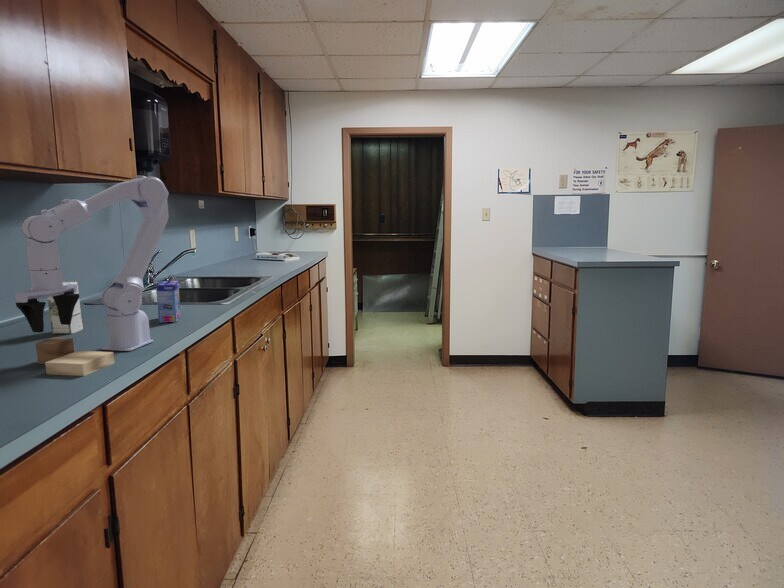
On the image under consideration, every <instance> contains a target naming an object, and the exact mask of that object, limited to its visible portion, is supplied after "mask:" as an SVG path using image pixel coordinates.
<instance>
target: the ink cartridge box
mask: <svg viewBox="0 0 784 588" xmlns="http://www.w3.org/2000/svg"><path fill="white" fill-rule="evenodd" d="M173 276H174V274H171V276H170V277H169V279H168V280H164V281H163V280H162V281H160V282H159V283H158V284H157V285H156V299H157V301H156V302H157V316H158V318H157V319H158V324H159V323H161V324H164V323H165V322H175V323H177V322H178V320H179V319H180V318H181V306H180V304H181V303H180V285H179V283H180V282H179V280H172V278H173ZM179 317H180V318H179ZM178 318H179V319H178ZM176 321H177V322H176ZM165 324H166V323H165Z"/></svg>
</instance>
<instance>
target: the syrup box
mask: <svg viewBox="0 0 784 588" xmlns="http://www.w3.org/2000/svg"><path fill="white" fill-rule="evenodd" d="M62 283H63V285H67V284H77V290H78V292H75V293H74V294H79V295H80V293H79V286H78V281H62ZM52 294H54V293H52ZM46 295H48V294H46ZM46 300H47V304H48V305H47V306H48V312H49V320H50V321H49V322H50V328H51V334H52V335H70V334H71V335H72V334H75V333H78V332H81V331H82V330H84V327H83V320H82V311H81V303H80V298H79V299H78V301H77V303H76V305H75V307H74V310H73V315H72V320H71V324H70V325H62V324H61V323H60V319H59V313H58V309H57V306H56V303H55V301H54V299H53V297H47V298H46Z"/></svg>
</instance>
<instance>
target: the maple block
mask: <svg viewBox="0 0 784 588" xmlns="http://www.w3.org/2000/svg"><path fill="white" fill-rule="evenodd" d="M114 364H115V355H114V351H98V350H97V351H95V350H94V351H93V350H77V351H74V352H73V353H70V354H67V355H65V356H62V357H59V358H56V359H53V360H50V361H48V362H45V364H44V366H45V371H46V375H57V376H59V375H60V376H73V377H74V376H77V377H86V376H88V375H90V374H92V373H95V372H97V371H100V370H102V369H104V368H107V367H109V366H111V365H114Z"/></svg>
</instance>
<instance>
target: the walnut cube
mask: <svg viewBox="0 0 784 588" xmlns="http://www.w3.org/2000/svg"><path fill="white" fill-rule="evenodd" d="M74 348H75V346H74V339H73V337H50V338H47V339H44V340H40V341H37V342H35V349H36V350H35V351H36V357H37V364H39V365H45V362H48V361H50V360H53V359H56V358H59V357H62V356H65V355H67V354H70V353H73V352H75V349H74Z"/></svg>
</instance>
